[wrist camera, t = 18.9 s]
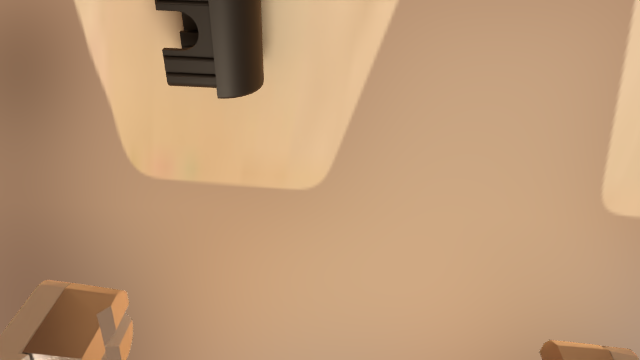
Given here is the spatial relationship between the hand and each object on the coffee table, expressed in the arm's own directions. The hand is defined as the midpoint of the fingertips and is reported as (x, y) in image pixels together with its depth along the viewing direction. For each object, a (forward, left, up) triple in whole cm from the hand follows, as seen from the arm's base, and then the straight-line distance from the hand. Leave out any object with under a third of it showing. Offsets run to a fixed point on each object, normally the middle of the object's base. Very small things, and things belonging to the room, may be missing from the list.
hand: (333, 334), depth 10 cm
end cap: (+10, +4, -35) cm, 37 cm away
